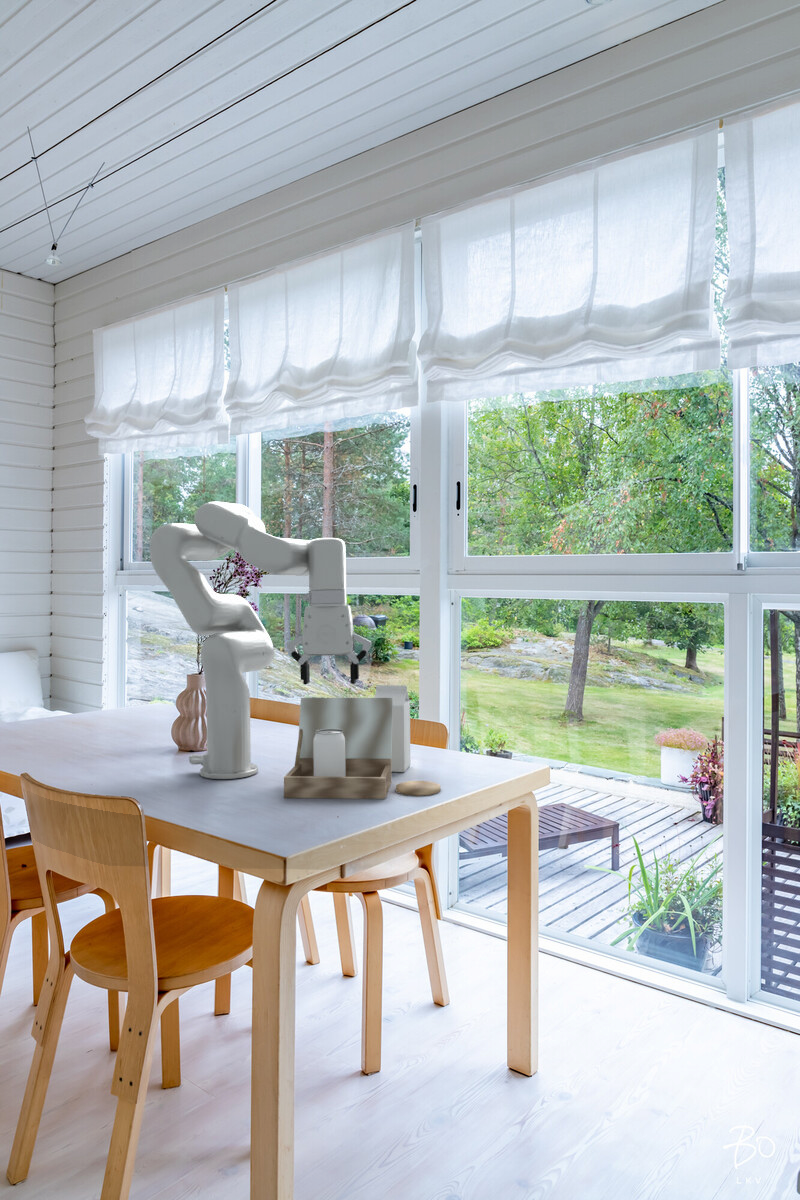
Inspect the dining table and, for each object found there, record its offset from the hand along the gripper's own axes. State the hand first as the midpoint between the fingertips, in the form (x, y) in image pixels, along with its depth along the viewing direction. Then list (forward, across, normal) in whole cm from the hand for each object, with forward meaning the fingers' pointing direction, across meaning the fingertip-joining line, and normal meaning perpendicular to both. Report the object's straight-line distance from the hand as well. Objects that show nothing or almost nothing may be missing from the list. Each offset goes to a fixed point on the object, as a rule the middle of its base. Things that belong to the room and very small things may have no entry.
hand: (329, 683), depth 162 cm
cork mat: (+22, +18, +1) cm, 28 cm away
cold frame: (+22, +2, +3) cm, 22 cm away
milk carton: (+22, +10, +20) cm, 31 cm away
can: (+22, 0, 0) cm, 22 cm away
